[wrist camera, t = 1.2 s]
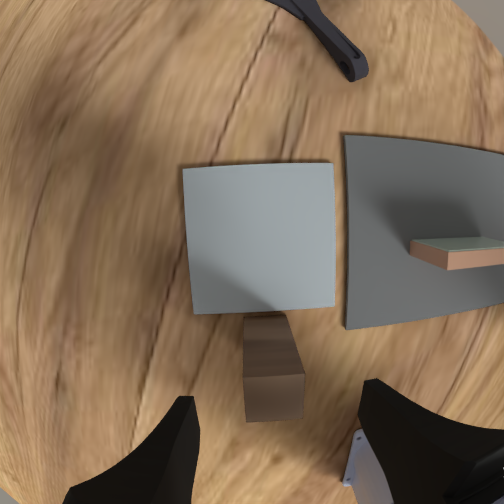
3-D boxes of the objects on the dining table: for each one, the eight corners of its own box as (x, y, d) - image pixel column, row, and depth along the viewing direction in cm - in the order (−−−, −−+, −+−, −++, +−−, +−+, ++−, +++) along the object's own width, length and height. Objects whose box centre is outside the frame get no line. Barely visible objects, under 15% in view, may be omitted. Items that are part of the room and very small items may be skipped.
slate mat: (503, 300, 22) (506, 301, 22) (344, 328, 22) (346, 330, 22) (510, 157, 20) (512, 157, 19) (343, 135, 20) (345, 134, 19)
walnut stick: (286, 350, 22) (302, 418, 14) (246, 353, 22) (246, 422, 14) (285, 314, 22) (304, 373, 14) (243, 316, 22) (242, 377, 14)
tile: (481, 250, 21) (519, 261, 16) (409, 255, 21) (447, 270, 16) (482, 236, 21) (521, 245, 16) (410, 239, 21) (448, 250, 16)
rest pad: (333, 304, 22) (334, 306, 21) (194, 312, 22) (193, 314, 21) (331, 163, 20) (333, 163, 20) (183, 169, 20) (182, 168, 19)
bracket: (273, 122, 20) (277, 111, 17) (178, -9, 18) (173, -28, 15) (416, 59, 19) (432, 48, 16) (319, -53, 17) (325, -70, 14)
